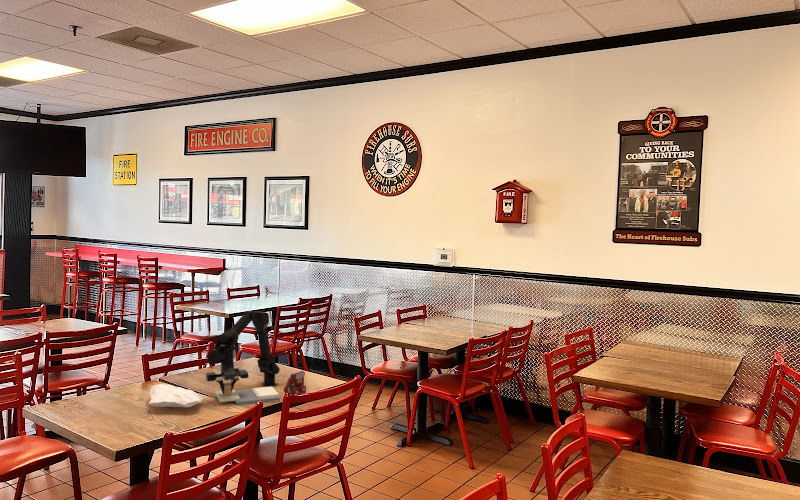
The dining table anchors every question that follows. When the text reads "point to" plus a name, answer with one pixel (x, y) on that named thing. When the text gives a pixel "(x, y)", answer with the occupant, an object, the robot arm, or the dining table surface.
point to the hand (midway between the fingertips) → (226, 393)
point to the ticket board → (257, 395)
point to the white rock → (173, 396)
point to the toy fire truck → (296, 383)
